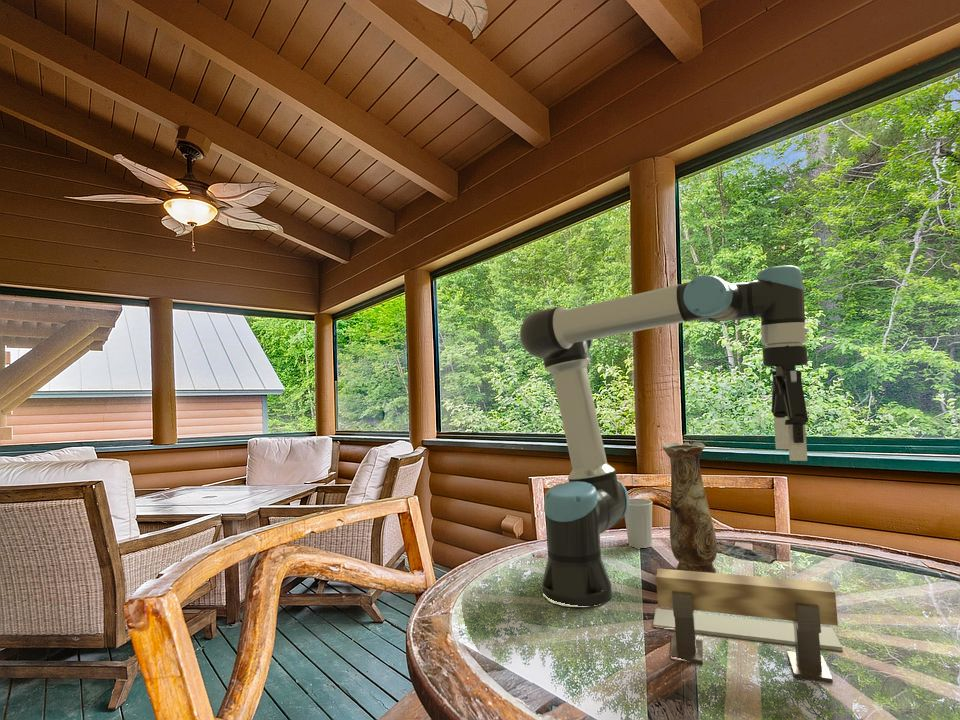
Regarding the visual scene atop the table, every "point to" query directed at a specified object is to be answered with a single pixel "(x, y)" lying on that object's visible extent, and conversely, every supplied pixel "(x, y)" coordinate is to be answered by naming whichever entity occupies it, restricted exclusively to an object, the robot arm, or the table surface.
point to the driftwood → (746, 553)
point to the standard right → (808, 645)
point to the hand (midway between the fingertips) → (790, 454)
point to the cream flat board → (746, 628)
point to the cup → (639, 523)
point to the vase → (690, 510)
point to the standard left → (685, 630)
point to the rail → (747, 594)
